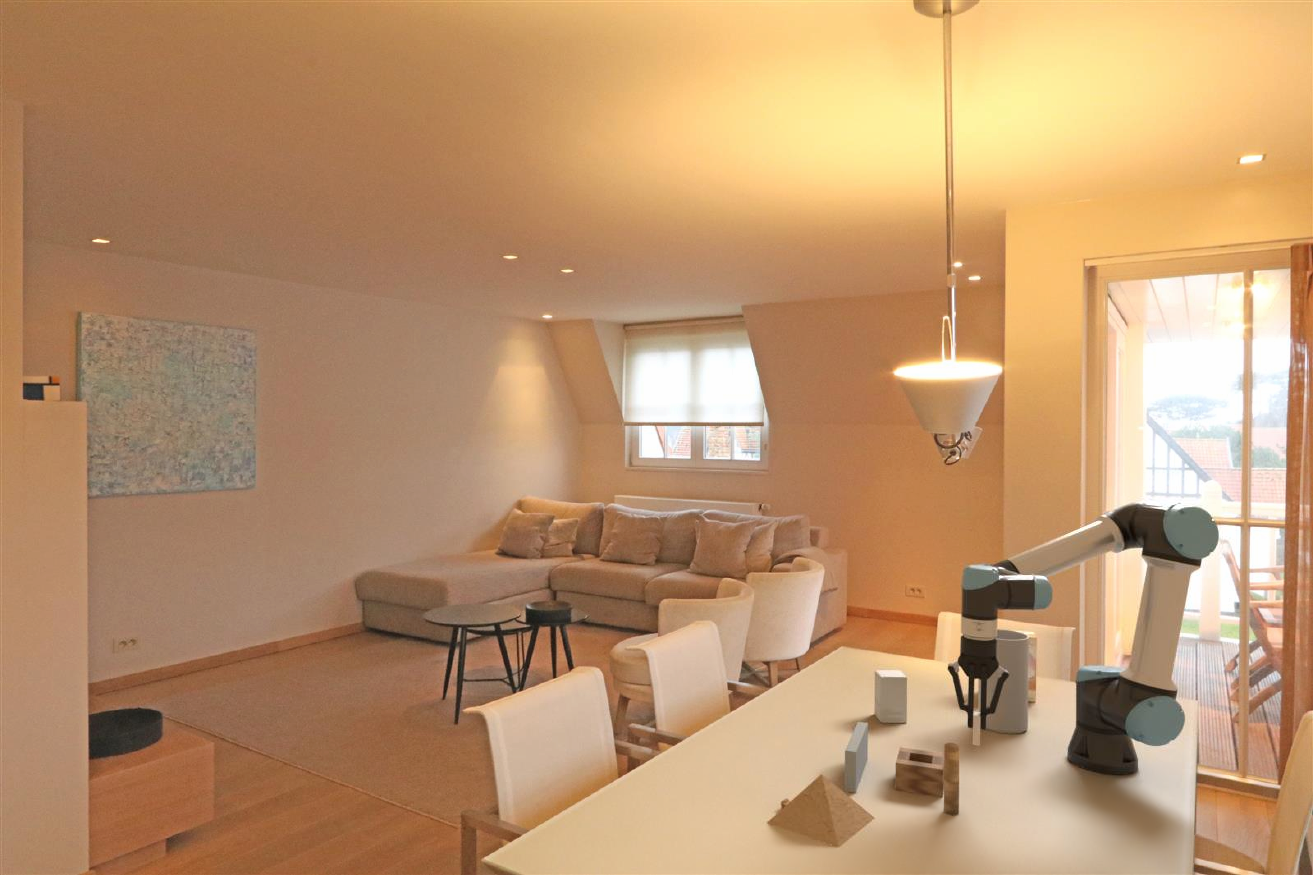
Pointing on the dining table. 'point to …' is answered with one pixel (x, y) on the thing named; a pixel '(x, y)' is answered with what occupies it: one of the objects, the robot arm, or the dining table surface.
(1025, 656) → the cylinder vase
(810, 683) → the dining table surface
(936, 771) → the block
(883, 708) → the supplement box
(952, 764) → the dowel
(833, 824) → the model pyramid
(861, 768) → the panel
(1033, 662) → the coffeecake box
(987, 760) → the dining table surface
